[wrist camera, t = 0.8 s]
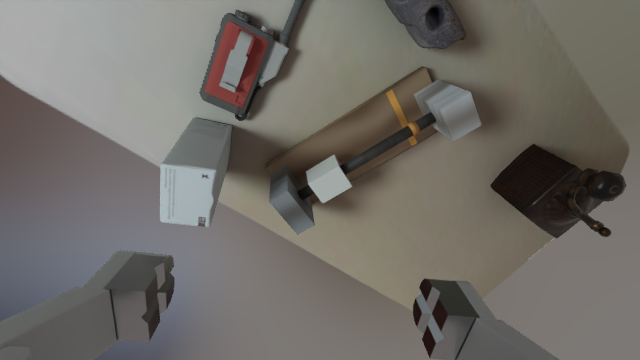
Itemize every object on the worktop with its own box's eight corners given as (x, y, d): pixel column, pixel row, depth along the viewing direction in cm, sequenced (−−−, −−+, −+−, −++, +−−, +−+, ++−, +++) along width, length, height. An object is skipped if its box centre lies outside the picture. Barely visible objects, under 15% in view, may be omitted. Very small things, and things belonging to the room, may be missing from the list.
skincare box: (193, 116, 44) (156, 157, 31) (235, 125, 45) (217, 168, 32) (189, 167, 48) (155, 223, 35) (228, 173, 49) (210, 230, 36)
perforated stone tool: (352, -31, 38) (365, -40, 32) (383, -68, 36) (404, -85, 30) (420, 58, 44) (442, 65, 38) (449, 29, 42) (478, 31, 36)
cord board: (265, 164, 49) (262, 196, 40) (428, 62, 44) (464, 73, 35) (299, 206, 53) (303, 243, 45) (449, 118, 49) (486, 140, 40)
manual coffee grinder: (566, 167, 56) (677, 226, 40) (519, 210, 60) (605, 279, 44) (518, 123, 51) (625, 171, 35) (470, 173, 54) (547, 237, 39)
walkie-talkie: (256, 124, 46) (314, -14, 38) (254, 134, 42) (318, -17, 35) (198, 99, 43) (248, -54, 36) (190, 107, 39) (245, -63, 32)
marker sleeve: (306, 171, 46) (308, 184, 42) (334, 154, 45) (338, 165, 41) (319, 190, 48) (322, 203, 44) (346, 174, 47) (352, 186, 43)
